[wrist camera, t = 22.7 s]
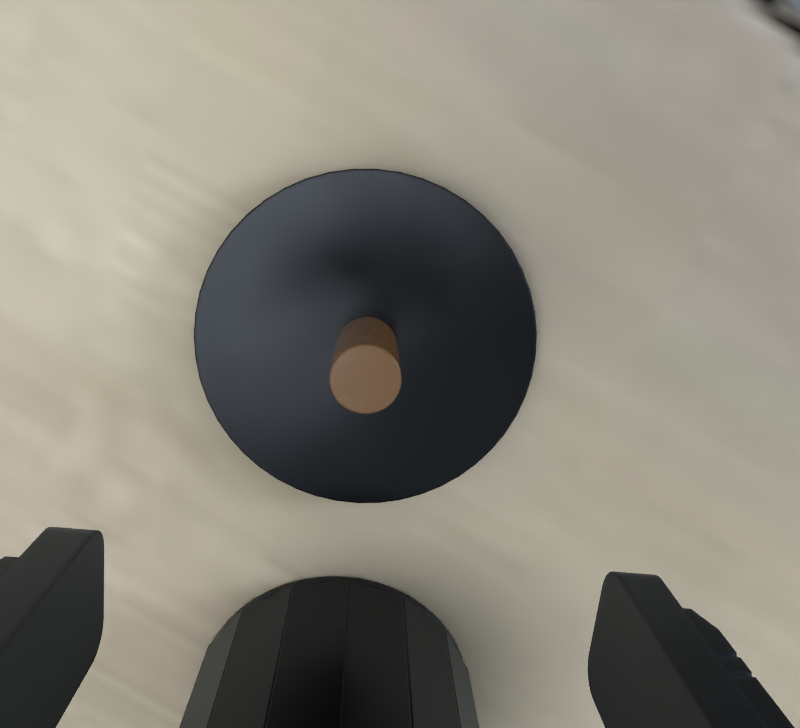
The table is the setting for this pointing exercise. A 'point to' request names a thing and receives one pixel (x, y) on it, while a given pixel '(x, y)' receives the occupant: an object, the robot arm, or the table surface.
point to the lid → (365, 335)
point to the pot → (332, 663)
